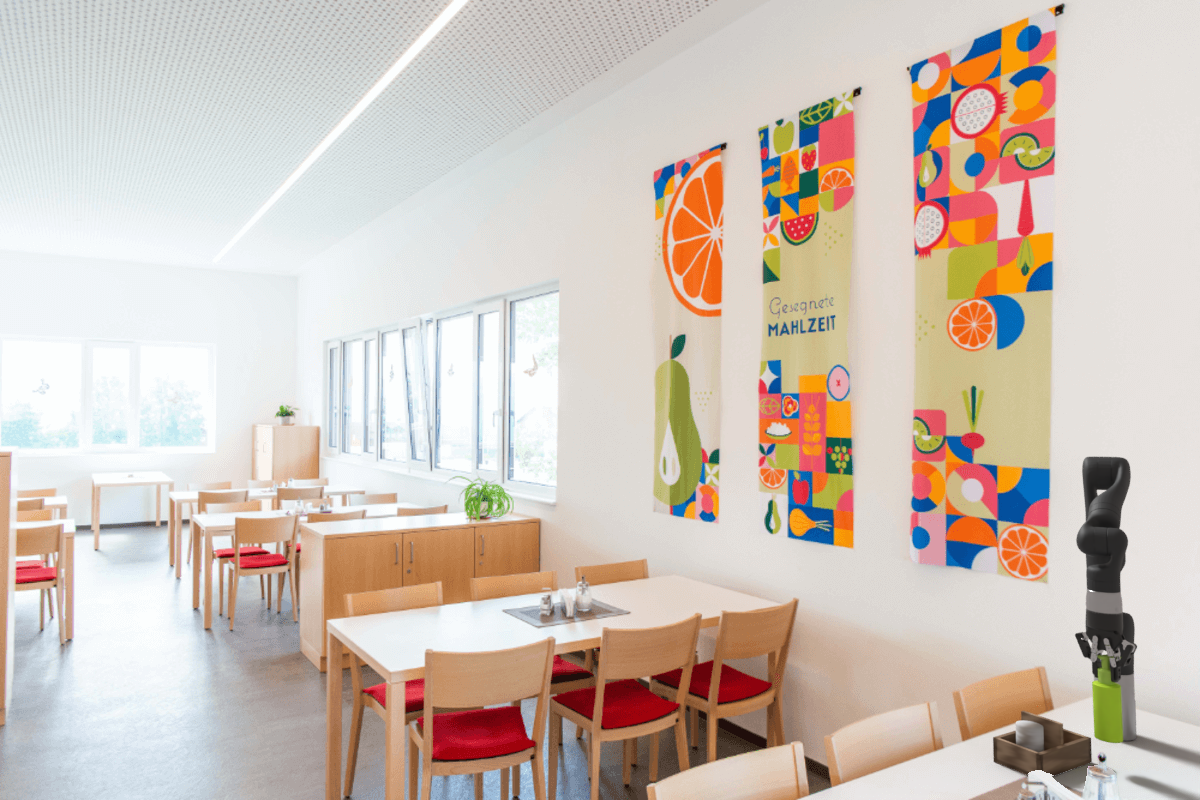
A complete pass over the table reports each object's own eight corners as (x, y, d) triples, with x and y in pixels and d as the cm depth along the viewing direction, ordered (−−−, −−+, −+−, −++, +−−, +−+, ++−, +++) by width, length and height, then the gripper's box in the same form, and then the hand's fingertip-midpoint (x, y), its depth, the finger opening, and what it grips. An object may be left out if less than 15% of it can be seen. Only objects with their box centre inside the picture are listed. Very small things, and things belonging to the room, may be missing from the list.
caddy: (993, 761, 191) (992, 716, 192) (1044, 745, 201) (1043, 702, 202) (1040, 780, 181) (1039, 733, 181) (1091, 762, 191) (1090, 717, 191)
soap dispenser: (1132, 744, 184) (1129, 659, 185) (1101, 742, 185) (1097, 658, 186) (1120, 734, 190) (1117, 652, 190) (1090, 733, 191) (1086, 651, 192)
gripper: (1143, 612, 184) (1146, 685, 184) (1083, 601, 197) (1085, 669, 196) (1126, 616, 181) (1129, 690, 180) (1066, 604, 193) (1068, 674, 193)
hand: (1106, 679), depth 188 cm, fingers closed on soap dispenser, 3 cm apart
